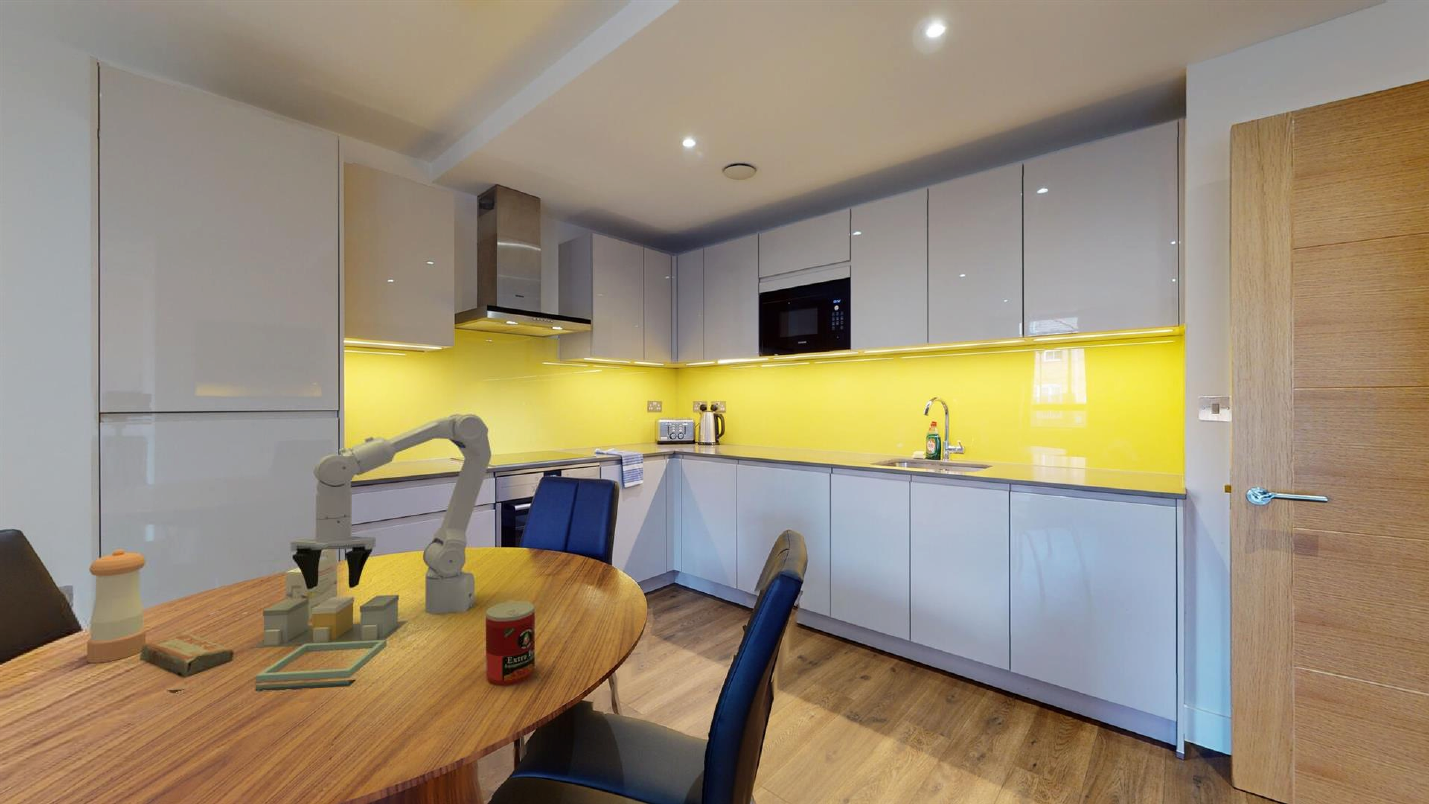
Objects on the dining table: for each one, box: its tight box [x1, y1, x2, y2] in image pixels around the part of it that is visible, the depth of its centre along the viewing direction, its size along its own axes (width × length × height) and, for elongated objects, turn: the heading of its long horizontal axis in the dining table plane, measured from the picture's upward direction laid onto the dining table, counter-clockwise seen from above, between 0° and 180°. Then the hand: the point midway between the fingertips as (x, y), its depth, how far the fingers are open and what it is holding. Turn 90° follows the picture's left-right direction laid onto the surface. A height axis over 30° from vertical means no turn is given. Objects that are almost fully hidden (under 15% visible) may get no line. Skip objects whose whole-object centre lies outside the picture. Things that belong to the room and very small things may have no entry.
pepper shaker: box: [86, 549, 147, 664], centre depth 101 cm, size 7×7×19 cm
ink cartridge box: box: [285, 549, 338, 622], centre depth 116 cm, size 9×5×15 cm, turn 179°
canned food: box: [485, 600, 536, 686], centre depth 91 cm, size 8×8×11 cm
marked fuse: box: [312, 596, 355, 640], centre depth 105 cm, size 4×6×6 cm
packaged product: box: [139, 633, 235, 694], centre depth 94 cm, size 18×5×10 cm
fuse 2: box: [359, 594, 400, 638], centre depth 106 cm, size 4×6×6 cm
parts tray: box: [254, 639, 387, 692], centre depth 93 cm, size 14×12×2 cm
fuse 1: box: [262, 598, 309, 642], centre depth 104 cm, size 4×6×6 cm
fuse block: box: [250, 620, 408, 649], centre depth 105 cm, size 23×10×4 cm, turn 96°
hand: (333, 586), depth 105 cm, fingers open, 7 cm apart
